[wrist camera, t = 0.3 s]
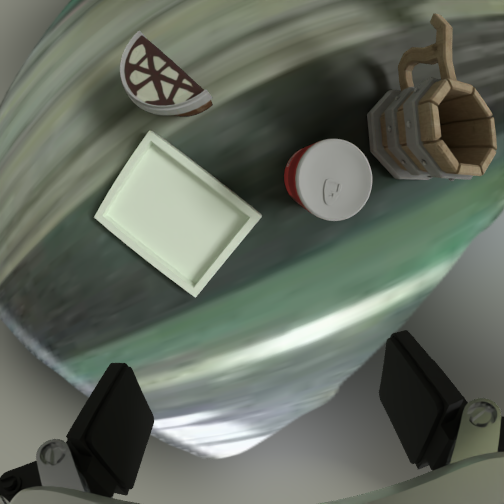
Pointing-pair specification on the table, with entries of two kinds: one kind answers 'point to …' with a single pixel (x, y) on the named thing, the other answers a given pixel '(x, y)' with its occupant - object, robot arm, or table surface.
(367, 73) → the table surface
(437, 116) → the tankard
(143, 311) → the table surface
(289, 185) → the canned food
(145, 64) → the food container
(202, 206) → the tray
